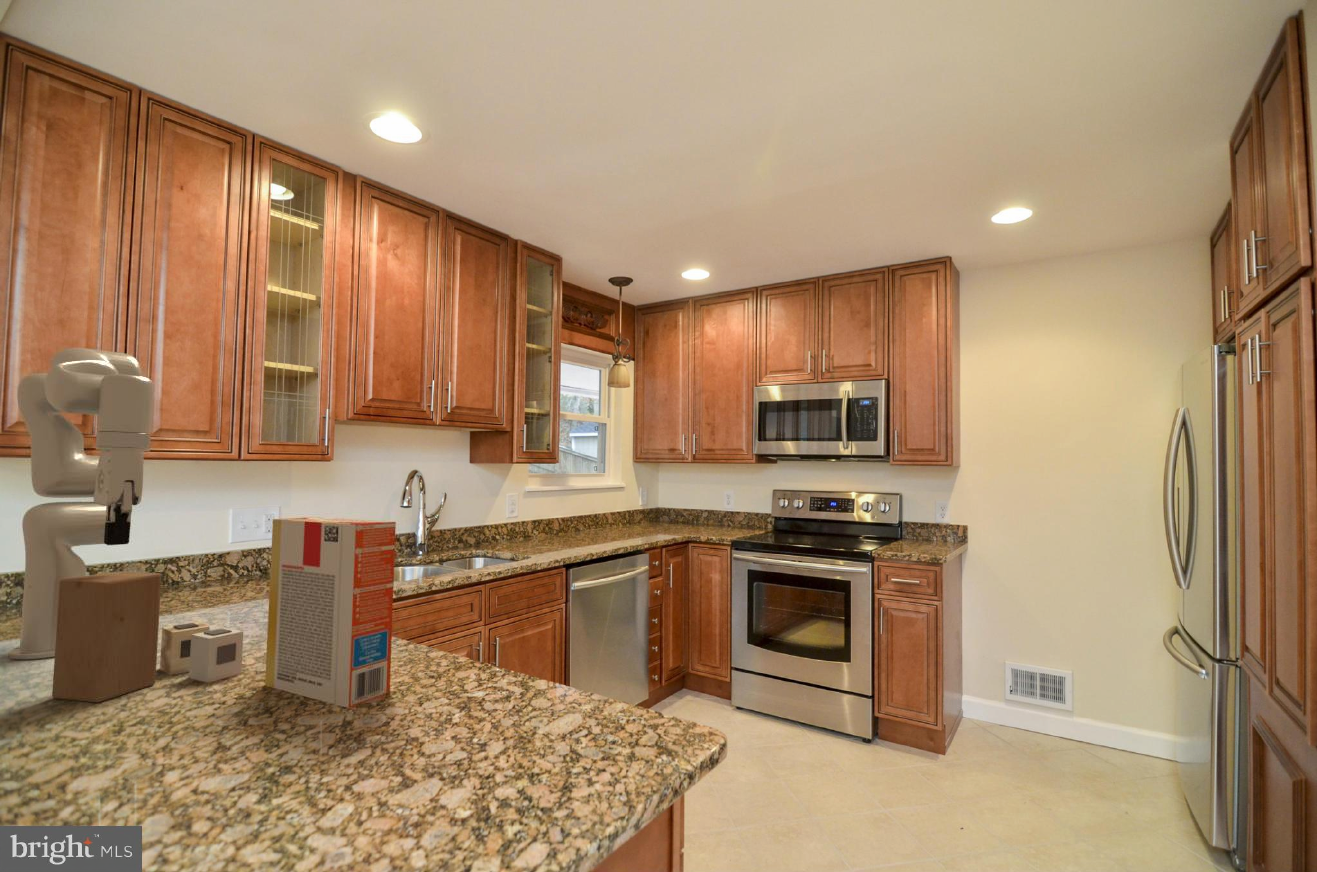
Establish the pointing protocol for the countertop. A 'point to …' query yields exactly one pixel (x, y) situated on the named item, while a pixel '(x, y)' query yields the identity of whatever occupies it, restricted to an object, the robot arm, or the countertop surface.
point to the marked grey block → (216, 654)
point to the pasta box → (331, 608)
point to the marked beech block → (178, 646)
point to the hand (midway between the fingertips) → (116, 544)
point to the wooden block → (106, 635)
